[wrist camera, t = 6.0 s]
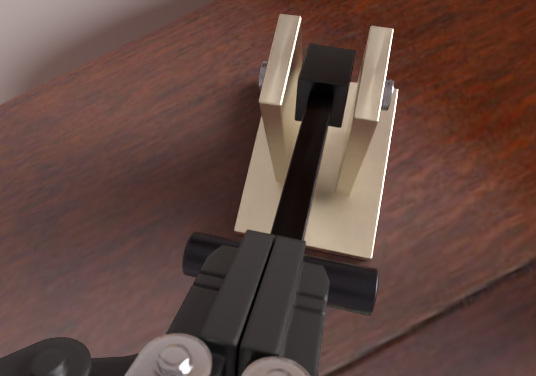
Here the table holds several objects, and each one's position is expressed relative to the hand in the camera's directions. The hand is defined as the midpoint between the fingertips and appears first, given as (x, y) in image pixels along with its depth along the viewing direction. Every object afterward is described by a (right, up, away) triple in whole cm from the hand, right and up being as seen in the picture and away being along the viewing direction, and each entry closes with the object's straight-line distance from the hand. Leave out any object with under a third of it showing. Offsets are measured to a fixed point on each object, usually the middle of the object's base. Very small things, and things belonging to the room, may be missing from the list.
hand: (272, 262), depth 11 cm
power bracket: (+3, +4, +20) cm, 20 cm away
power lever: (+1, +2, +7) cm, 8 cm away
